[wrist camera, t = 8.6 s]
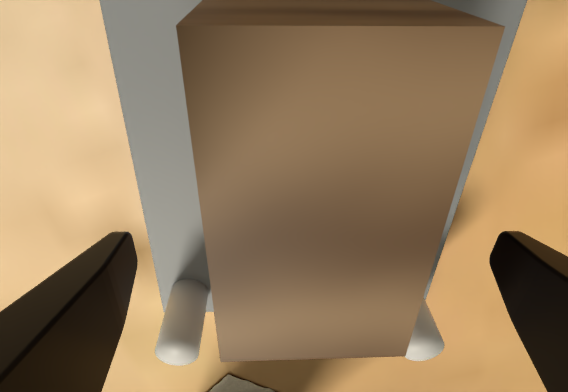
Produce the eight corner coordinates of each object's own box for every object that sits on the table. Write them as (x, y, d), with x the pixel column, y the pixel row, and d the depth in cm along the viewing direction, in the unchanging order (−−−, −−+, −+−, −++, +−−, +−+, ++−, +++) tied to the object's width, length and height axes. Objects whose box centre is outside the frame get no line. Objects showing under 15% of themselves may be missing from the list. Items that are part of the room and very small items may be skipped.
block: (207, -5, 11) (175, 25, 7) (421, -3, 11) (505, 26, 7) (230, 263, 16) (220, 362, 12) (373, 260, 16) (405, 356, 13)
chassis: (83, -151, 10) (-13, -200, 6) (547, -128, 10) (683, -160, 7) (168, 295, 18) (147, 373, 15) (415, 293, 19) (447, 367, 16)
